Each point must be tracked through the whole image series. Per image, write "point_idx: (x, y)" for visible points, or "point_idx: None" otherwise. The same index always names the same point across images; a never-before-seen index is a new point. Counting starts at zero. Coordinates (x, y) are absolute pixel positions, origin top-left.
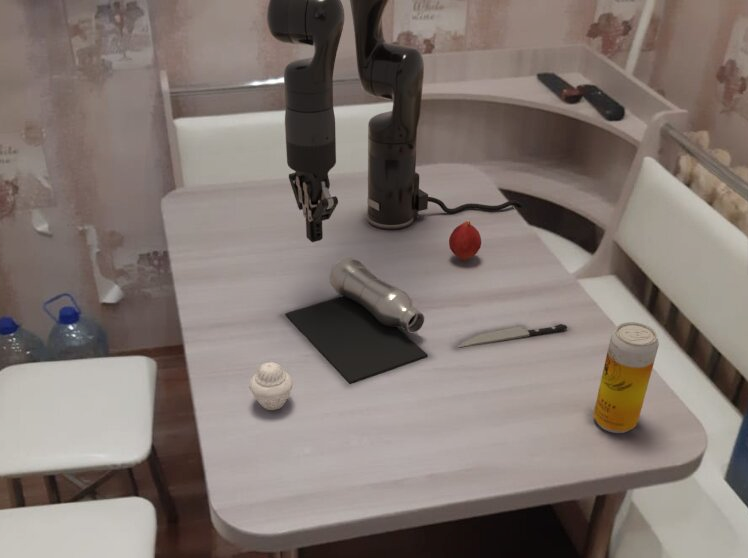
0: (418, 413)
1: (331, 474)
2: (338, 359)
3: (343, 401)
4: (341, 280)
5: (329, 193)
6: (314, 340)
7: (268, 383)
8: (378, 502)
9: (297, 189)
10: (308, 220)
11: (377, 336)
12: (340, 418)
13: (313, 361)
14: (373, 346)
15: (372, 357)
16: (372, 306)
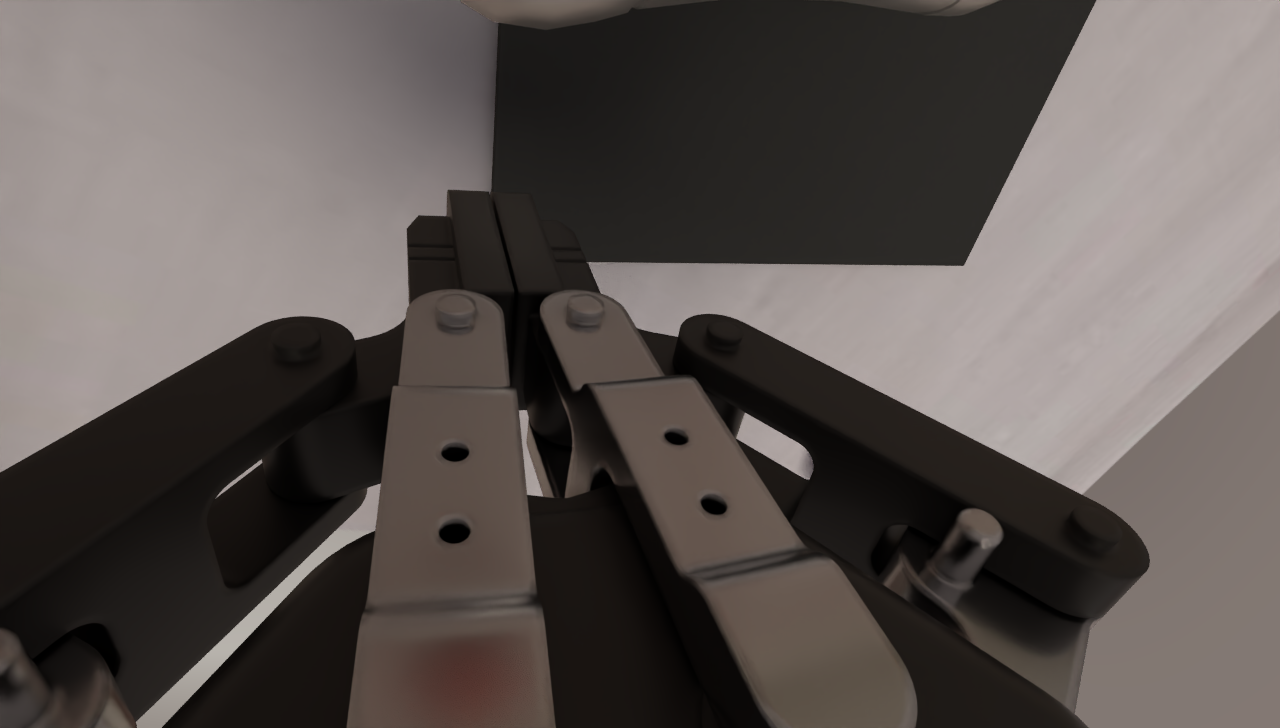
0: (1186, 170)
1: (1077, 422)
2: (869, 239)
3: (983, 310)
4: (612, 15)
5: (1075, 667)
6: (728, 252)
7: None
8: (1184, 385)
9: (172, 656)
10: (520, 409)
11: (896, 20)
12: (1011, 344)
13: (800, 298)
14: (923, 84)
15: (958, 133)
16: (892, 9)
